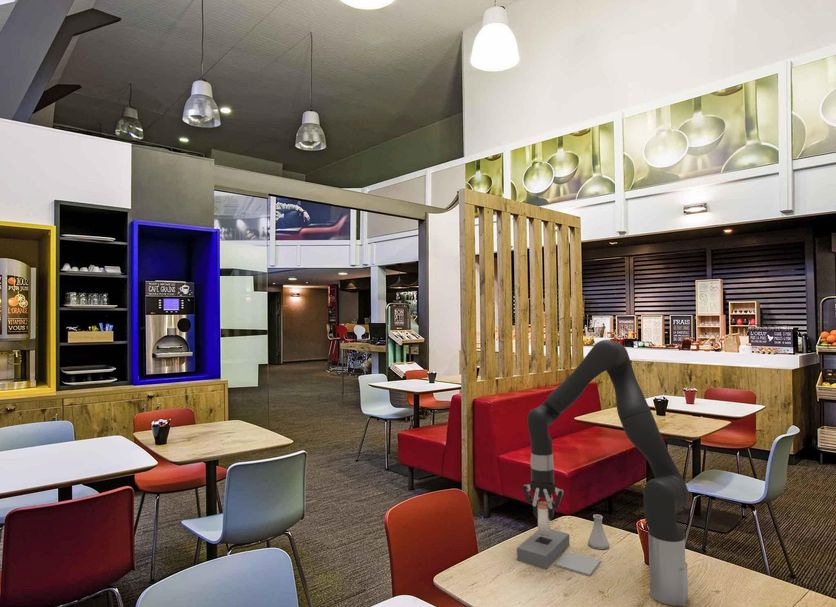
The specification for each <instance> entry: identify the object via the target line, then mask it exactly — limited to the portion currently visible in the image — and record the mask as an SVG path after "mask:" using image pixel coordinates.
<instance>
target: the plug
mask: <svg viewBox="0 0 836 607" xmlns="http://www.w3.org/2000/svg"><path fill="white" fill-rule="evenodd" d="M537 511H538V518H537V531H538V534H539V535H541V536H550V534H551V532H550V529H551V520H549V506H548V502H547V501H538V503H537Z"/></svg>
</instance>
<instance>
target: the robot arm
mask: <svg viewBox="0 0 836 607" xmlns="http://www.w3.org/2000/svg"><path fill="white" fill-rule="evenodd" d="M583 358H584V359H583V360H582V361H581V362H580V363H579V365H578V366H577V367H576V368H575V370H573V372H571V374H570V375H568V376H567V378H566V379H564V381H562V382H561V383H560V384H559V385H558V386H557V387H556V388H555V389H554V390H552V392H551V393H550V394H549V395H548V396H547V399H546V400H544V401H543V403H541V404H540V405H539V406H536V407H535V408H532V409H531V410H530V411H528V414H527V417H526V420H527V422H526V424H527V429H528V434H529V437H530V464H529V465H530V479H531V480H530V483H529V484H524V485H522V490H523V493H524V497H525V499H526V502H527V504H528V505H532V514H533V516H534V518H536V519H538V511H537V503H538V502H539V499H540V498H542V499H543V498H544V499H545V500H546V502H548V506H549V520H550V521H552V520H553V518H554V516H555V509H557V508H559V506H560V503H561V501H562V498H563V496H564V489H563V488H561V489H560V488H558V487H557V486H556V484H555V468H554V466H555V465H554V464H555V463H554V454H553V441H552V437H551V436H550V435H549V431H548V426H551V425H552V424H553V423H554V422H555V421H556V420H557V419H558V418H559V417H560V416H561V415H562V414H563V413H564V411H566V410H567V409H568V408H569V407H570V406H571V405H573V404H574V403H575V402H577V400H578V399H579V398H580V397H581V396H582V394H583V392H584V391H585V390H586V388H587V387H588V385H589V384H591V382H592V381H593V380H594V379H596V378H597V377H598V376H599V375H601V374H602V373H604V372H605V371H606V373H607V374H608V376H609V378H610V381H611V383H612V385H613V389H614V392H615V393H614V394H615V404H616V411H617V415H618V419H619V420H620V423H621V425H622V428H623V431H624V433H625V435H626V437H627V439H629V441H630V442H631V444H632V445H633V446H635V448H636V449H638V451H639V452H640V453H641V454H642V455H643V457H644V458H645V459H646V460H647V462H648V464H649V466H650V468H651V470H652V473H653V475H654V478H652V479H650V480H648V481H647V482H646V483H645V485H644V487H643V496H642V497H643V511H644V512H643V513H644V519H645V523H646V525H647V529H648V562H649V563H648V564H649V565H648V566H649V568H648V570H649V571H648V572H649V594H650V597H651V598H653V599H654V600H655V601H657V602H659V603H662V604H664V605H669V606H681V607H685V606H686V604H687V601H688V598H689V588H688V587H689V584H688V583H689V581H688V578H689V577H688V563H687V562H686V539H685V538H686V537H685V534H686V533H685V528H684V526H683V525H682V524H681V523H680V522H677V516H676V511H677V510H679V509H682V508H684V507H685V506H686V505H688V503H689V502H690V501H689V499H690V493H689V490H688V489H689V488H688V487H687V486H688V485H687V484H686V482H685V480H684V478H683V476H682V475H681V473H680V471H679V469H678V467H677V466H676V463H675V462H674V460H673V458H672V457H671V455H670V453H669V450H668V447H667V445H666V443H665V440H664V439H663V437H662V435H661V432H660V430H659V427H658V424H657V422H656V420H655V416H654V415H653V412H652V410H651V408H650V405H649V404H648V401H647V400H646V397H645V395H644V393H643V391H642V389H641V387H640V384H639V383H638V380H637V378H636V375H635V372H634V368H633V365H632V362H631V358H630V355H629V352H628V350H627V348H626V347H625V346H624V345H623V344H622V343H620V342H618V341H616V340H611V339H604V340H603V339H602V340H599V341H597V342H596V343H595V344H594V345H593V347H592V348H591V349H590V350H589V352H588V353H587V354H586V356H585V357H583ZM531 490H532V492H533V493H534V496H532V494H531V492H530V491H531ZM554 492H555V495H556V499H555V502H554V499H553V493H554ZM532 497H533V498H532Z"/></svg>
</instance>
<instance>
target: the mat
mask: <svg viewBox="0 0 836 607" xmlns="http://www.w3.org/2000/svg"><path fill="white" fill-rule="evenodd" d="M601 563H602V560H601V559H599V558H596V557H591V556H588V555H583V554H580V553H576V552H573V551H569V550H567V551H566V552H565V553H564V554H563V556H561V557H560V558H559V559H558V560H557V561H556V562H555V563H554V566H555V567H558V568H560V569H564V570H568V571H569V572H570V571H571V572H575V573H577V574H581V575H585V576H588V577H590V576H591V575H593V573H594V572H595V570H596V569H597V568H598V567H599V565H600V564H601Z"/></svg>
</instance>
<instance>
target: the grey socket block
mask: <svg viewBox="0 0 836 607" xmlns="http://www.w3.org/2000/svg"><path fill="white" fill-rule="evenodd" d="M550 532H551V534H550V536H541V535H539V534H538V530H536V531H535V532H534V533H533V534H532V535H530V537H528V538H526V539H525V540H524V541H523V542H522V543H521V544H519V545H518V546H517V547H516V561H519V562H523V563H525V564H528V565H532V566H534V567H538V568H541V569H545V570H546V569H548V568H549V567H550V566H551V565H552V564H553V563H554V561H556V560H557V559H558V558H559V557H560V555H562V554H563V553H564V552H565V551H566V550H567V549H568V548H569V547H570V545H571V544H570V533H566V532H563V531H560V530H559V531H558V530H557V529H556V530H555V529H552V528H550Z"/></svg>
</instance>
